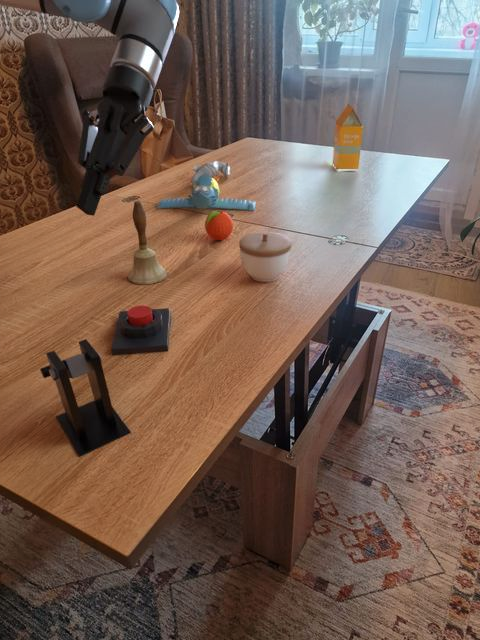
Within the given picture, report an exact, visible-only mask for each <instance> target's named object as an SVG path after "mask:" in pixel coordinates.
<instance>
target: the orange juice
mask: <svg viewBox="0 0 480 640" xmlns="http://www.w3.org/2000/svg"><path fill="white" fill-rule="evenodd" d="M334 127H335V128H334V139H333V153H332V164H334V166H335V167H336V169H337V170H338V169H358V170H359V167H360V157H361V150H362V140H363V130H364V126H363V124H362V123H361V121H360V118H359V117H358V115H357V113H356V111H355V109H354V107H353V106H351V105H350V104H347V105H346V106H345V108H344V109H343V110H342V112H341V114H340V115H339V116H338V117H337V119H336V120H335V126H334Z"/></svg>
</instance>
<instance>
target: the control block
mask: <svg viewBox="0 0 480 640" xmlns="http://www.w3.org/2000/svg"><path fill="white" fill-rule="evenodd" d="M151 310H152V316H153V321H152V322H150V323H148V324H146V325H140V326H134V325H131V324H130V323H129V320H128V315H127V312H128V310H120V311H119V312H118V316H117V321H116V324H115V325H116V326H115V330H114V334H113V339H112V343H111V348H110V351H111V356H122V355H124V356H125V355H137V354H139V355H140V354H150V353H152V354H153V353H164V352H169V349H170V348H169V347H170V331H171V330H170V329H171V327H172V313H171V308H170V307H167V308H166V307H165V308H151Z"/></svg>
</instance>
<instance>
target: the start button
mask: <svg viewBox="0 0 480 640" xmlns="http://www.w3.org/2000/svg"><path fill="white" fill-rule="evenodd" d="M151 309H152V308H151V307H150V306H148V305H136V306H132V307H130V308H129V309H128V310H127V311H128V312H127V315H128V320H129V323H130V324H131V325H134V326H140V325H146V324H148V323H150V322H152V321H153V316H152V310H151Z"/></svg>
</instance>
